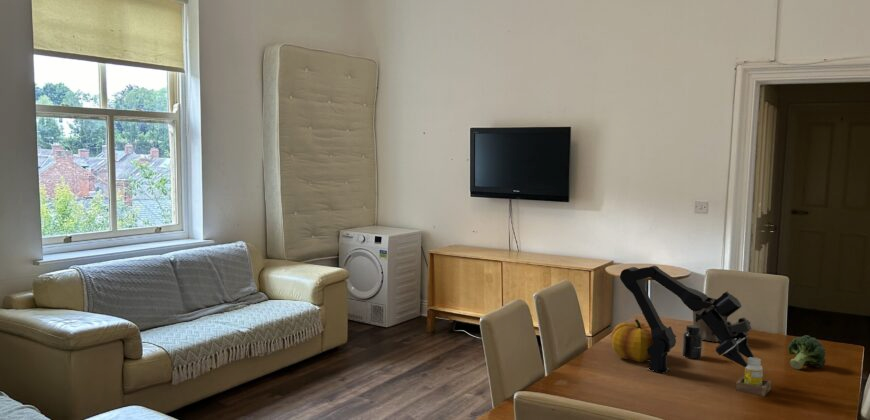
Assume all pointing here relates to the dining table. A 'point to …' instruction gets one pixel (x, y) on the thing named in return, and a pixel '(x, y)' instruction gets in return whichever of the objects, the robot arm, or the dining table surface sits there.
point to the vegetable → (806, 352)
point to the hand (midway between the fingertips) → (750, 363)
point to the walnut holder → (753, 387)
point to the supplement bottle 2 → (753, 372)
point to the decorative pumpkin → (632, 341)
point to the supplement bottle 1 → (692, 342)
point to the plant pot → (705, 327)
